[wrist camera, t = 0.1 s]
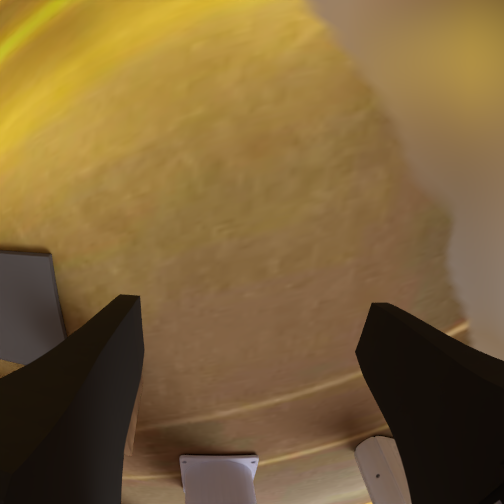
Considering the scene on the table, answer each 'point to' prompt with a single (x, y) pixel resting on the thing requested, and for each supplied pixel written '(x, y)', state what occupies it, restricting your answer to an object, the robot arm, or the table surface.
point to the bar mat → (28, 307)
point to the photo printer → (382, 471)
